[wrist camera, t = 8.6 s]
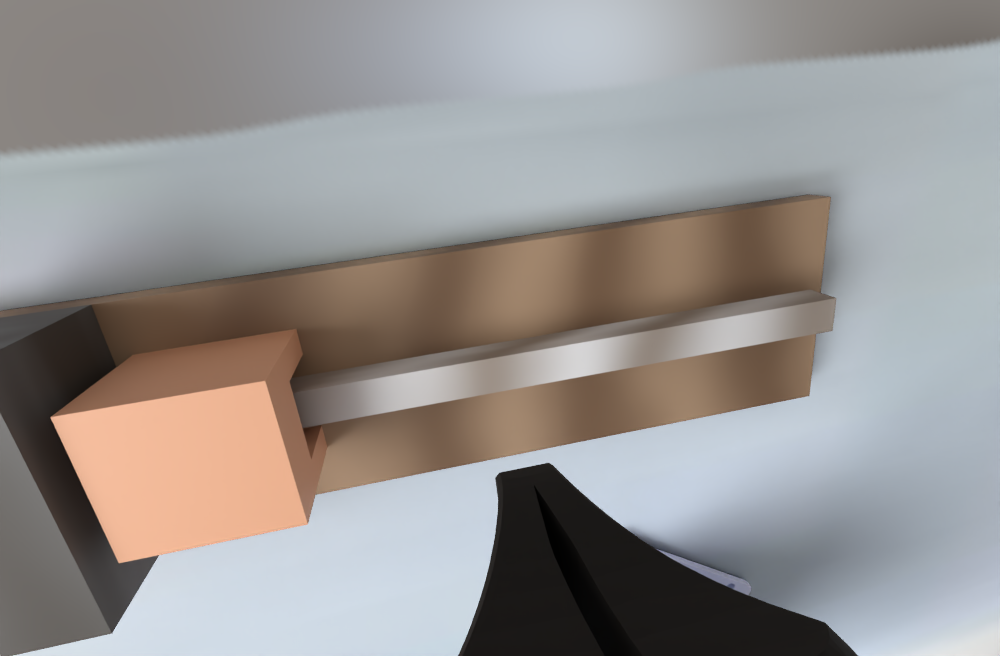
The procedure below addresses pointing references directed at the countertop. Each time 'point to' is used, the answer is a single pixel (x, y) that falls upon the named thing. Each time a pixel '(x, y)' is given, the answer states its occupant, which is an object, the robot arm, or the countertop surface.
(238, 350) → the slider block
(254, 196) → the countertop surface
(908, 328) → the countertop surface
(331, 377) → the rail board
